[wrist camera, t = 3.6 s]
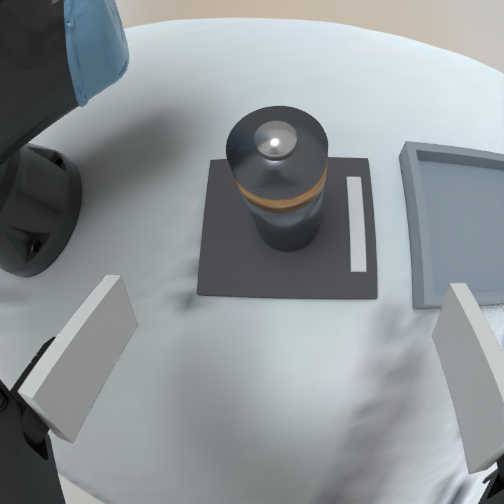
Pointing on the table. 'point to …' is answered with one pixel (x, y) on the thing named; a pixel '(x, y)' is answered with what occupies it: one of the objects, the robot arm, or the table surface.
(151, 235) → the table surface
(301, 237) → the battery cell
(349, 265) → the dark grey pad
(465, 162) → the tray
